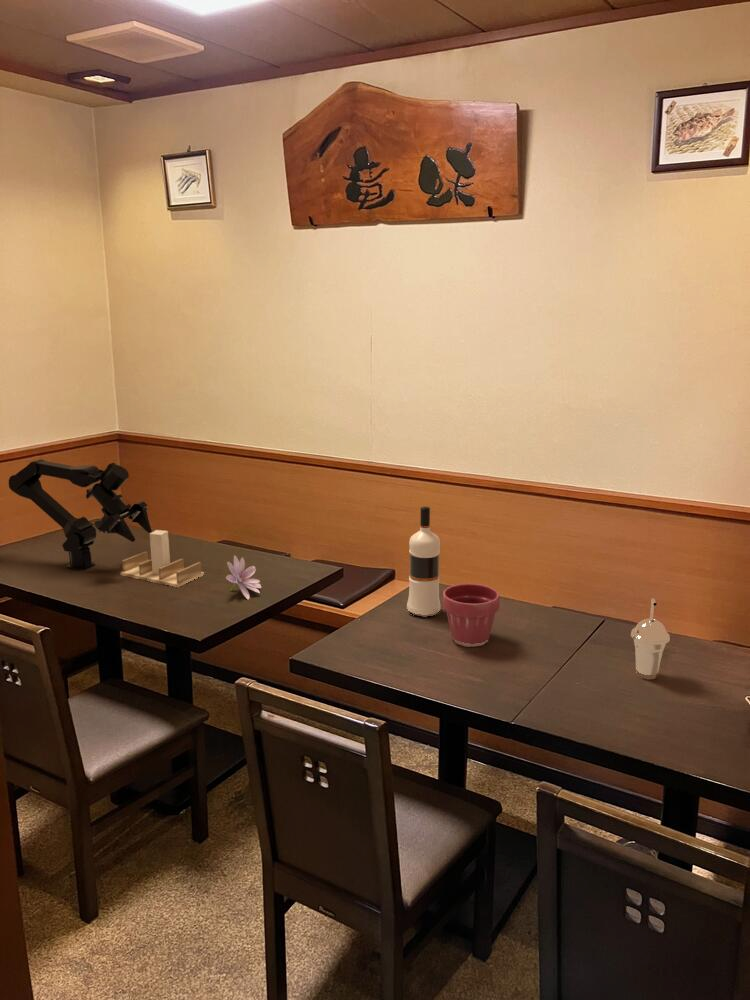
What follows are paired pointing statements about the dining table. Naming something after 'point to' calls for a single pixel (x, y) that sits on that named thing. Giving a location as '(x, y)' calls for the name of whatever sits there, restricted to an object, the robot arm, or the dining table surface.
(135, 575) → the drying rack
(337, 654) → the dining table surface
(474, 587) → the plant pot
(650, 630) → the cup with straw
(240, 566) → the water lily
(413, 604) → the vodka
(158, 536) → the clay bar
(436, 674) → the dining table surface
